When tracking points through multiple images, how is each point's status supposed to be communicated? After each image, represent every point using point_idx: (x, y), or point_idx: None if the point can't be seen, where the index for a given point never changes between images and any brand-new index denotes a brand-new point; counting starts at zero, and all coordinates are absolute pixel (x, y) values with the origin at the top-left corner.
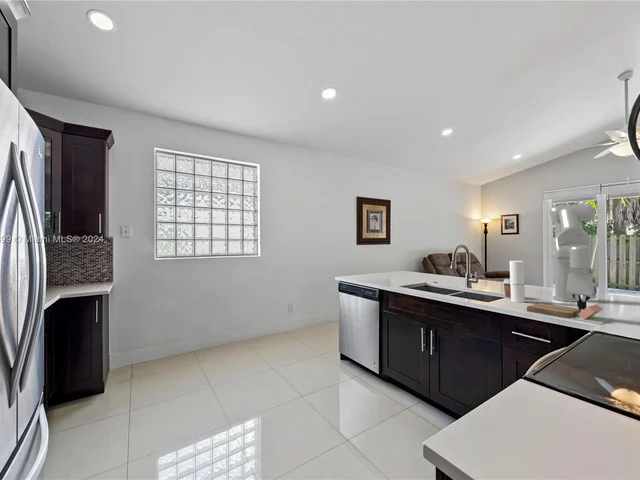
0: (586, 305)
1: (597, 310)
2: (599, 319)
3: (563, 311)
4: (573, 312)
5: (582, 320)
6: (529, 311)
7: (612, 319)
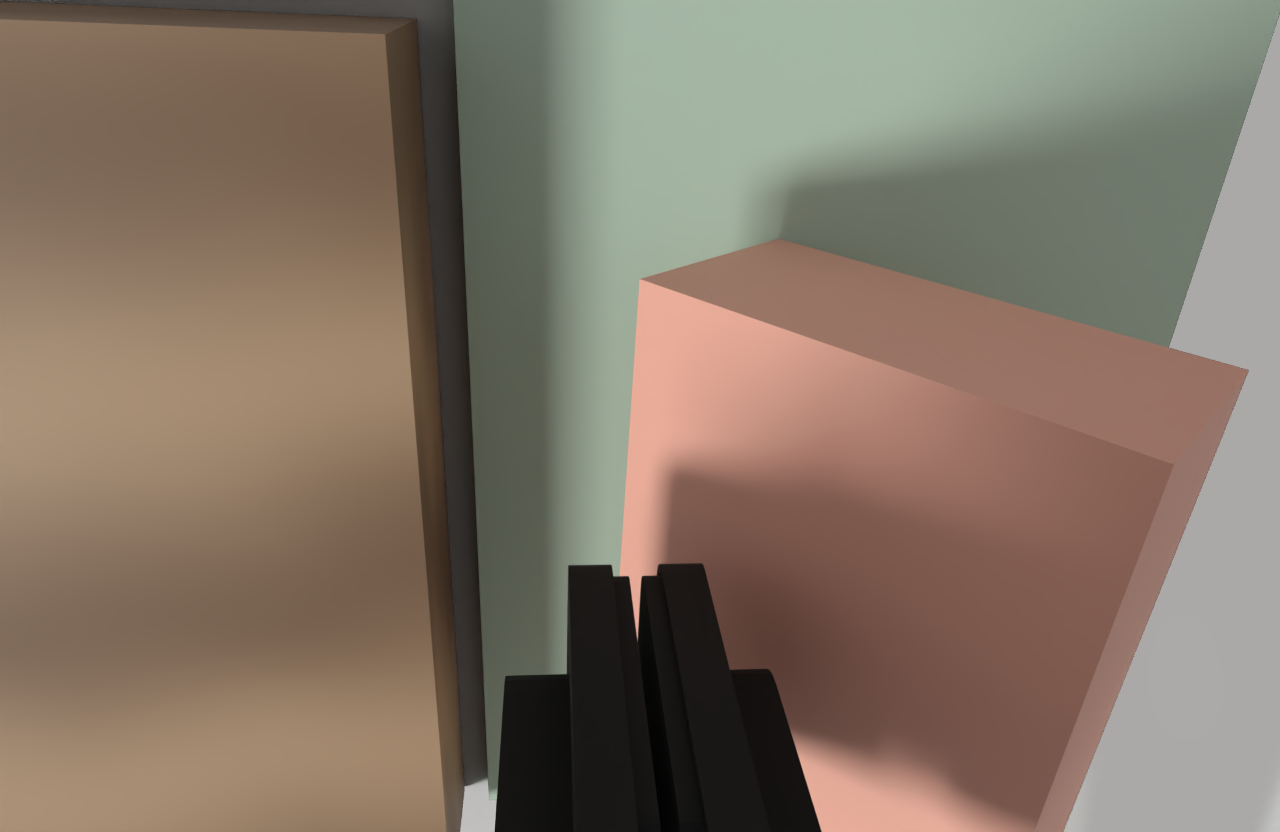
0: (787, 721)
1: (1089, 765)
2: None
3: (258, 815)
4: (435, 658)
5: None
6: None
7: (1236, 105)
